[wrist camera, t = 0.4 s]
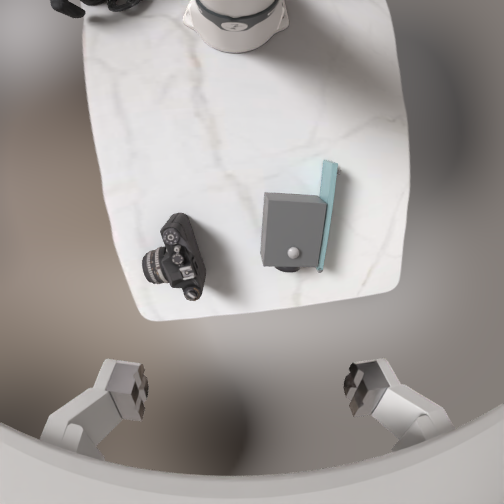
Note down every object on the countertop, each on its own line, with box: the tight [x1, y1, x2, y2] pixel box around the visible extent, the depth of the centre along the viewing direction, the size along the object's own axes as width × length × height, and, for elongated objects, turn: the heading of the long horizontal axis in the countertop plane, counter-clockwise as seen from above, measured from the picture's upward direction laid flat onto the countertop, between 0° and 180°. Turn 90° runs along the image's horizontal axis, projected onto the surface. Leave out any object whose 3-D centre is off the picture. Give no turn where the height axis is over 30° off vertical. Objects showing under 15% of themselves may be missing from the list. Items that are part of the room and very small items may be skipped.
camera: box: [142, 213, 206, 301], centre depth 51 cm, size 14×11×10 cm
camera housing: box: [260, 193, 327, 272], centre depth 52 cm, size 13×10×7 cm
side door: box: [315, 160, 341, 273], centre depth 52 cm, size 20×2×5 cm, turn 177°
